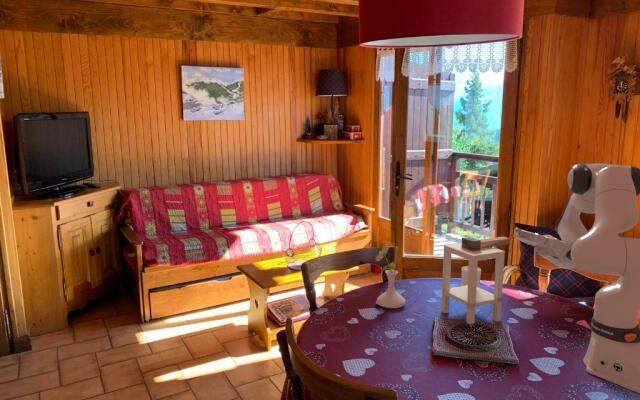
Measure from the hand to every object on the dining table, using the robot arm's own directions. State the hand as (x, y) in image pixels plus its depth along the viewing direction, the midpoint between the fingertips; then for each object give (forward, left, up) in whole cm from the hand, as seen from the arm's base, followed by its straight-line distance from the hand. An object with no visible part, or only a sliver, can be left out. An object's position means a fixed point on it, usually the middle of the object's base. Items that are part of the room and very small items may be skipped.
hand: (525, 232), depth 189 cm
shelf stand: (0, +25, -29) cm, 39 cm away
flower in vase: (+21, +47, -30) cm, 59 cm away
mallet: (0, +19, -3) cm, 19 cm away
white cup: (+21, +7, -30) cm, 37 cm away
